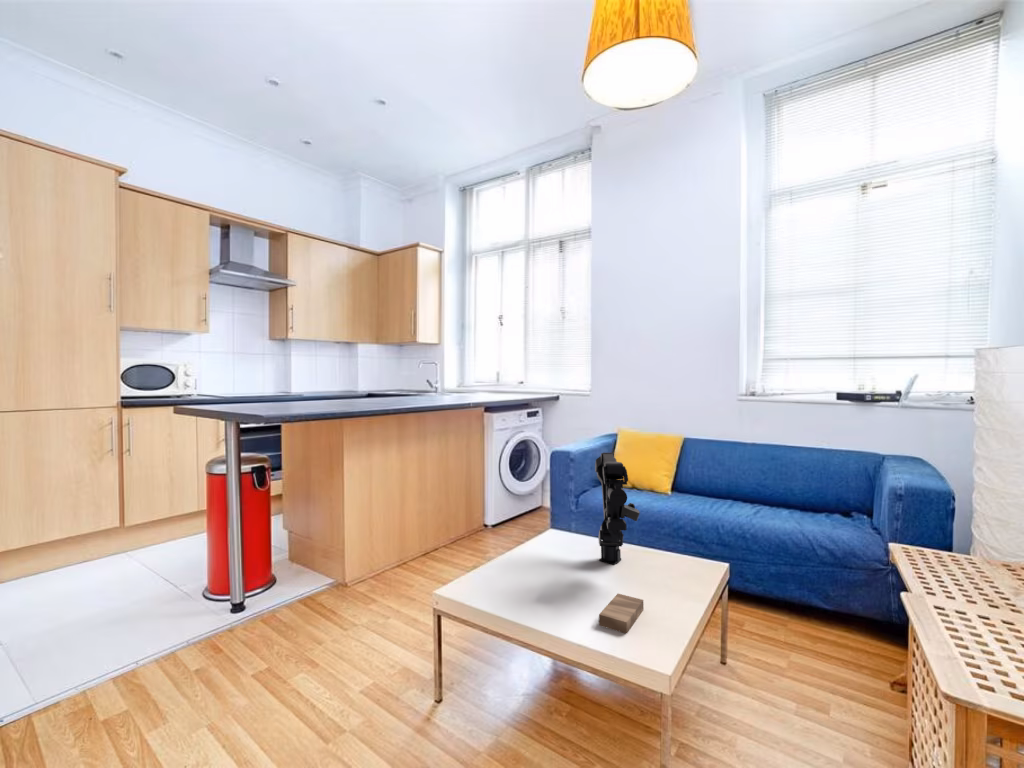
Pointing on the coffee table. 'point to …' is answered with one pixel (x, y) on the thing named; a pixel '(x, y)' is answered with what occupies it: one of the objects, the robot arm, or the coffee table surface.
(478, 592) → the coffee table surface
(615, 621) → the walnut card box
